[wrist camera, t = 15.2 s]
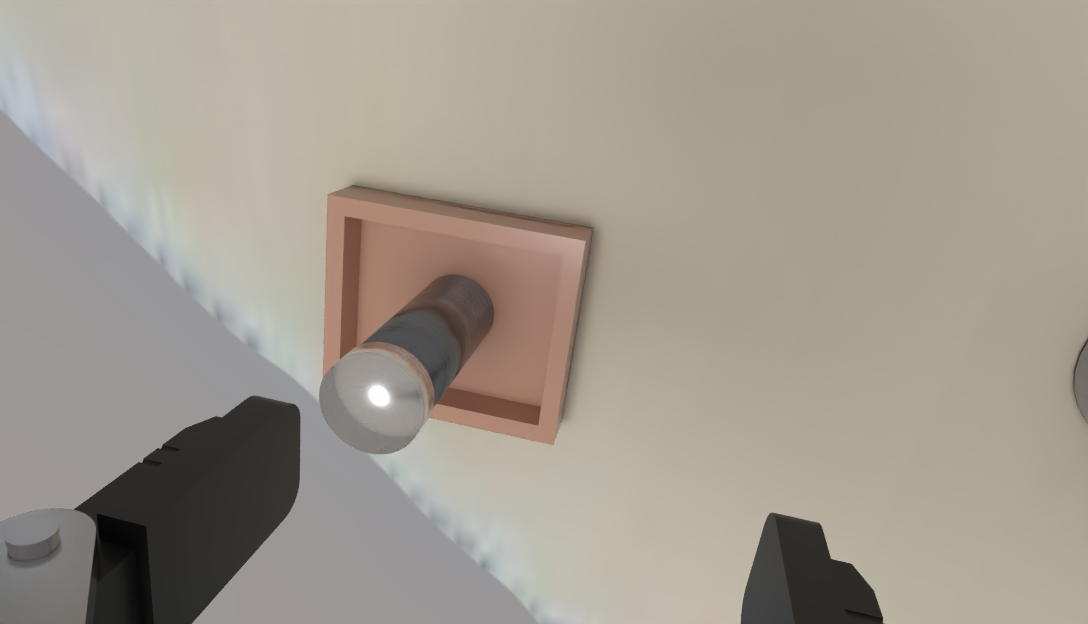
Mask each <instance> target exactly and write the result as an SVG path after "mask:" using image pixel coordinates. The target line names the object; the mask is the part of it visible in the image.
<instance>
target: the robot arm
mask: <svg viewBox="0 0 1088 624" xmlns="http://www.w3.org/2000/svg"><path fill="white" fill-rule="evenodd" d="M1074 391H1075V396H1076V400H1077V404H1078V407H1079V409H1080V411H1081V413H1082V415H1083V416H1084V418H1085V420H1086V421H1087V423H1088V343H1087V344H1086V346H1085V348H1084V350H1083V351H1082V353H1081V355H1080V358H1079V361H1078V364H1077V368H1076V371H1075V383H1074ZM299 480H300V412H299V409H298V407H297V406H296V405H295V404H291V403H286V402H282V401H277V400H273V399H268V398H264V397H260V396H251V397H249V398H247V399H246V400H244V401H243V402H242V403H241V404H239V405H238V406H236V407H235V408H234V409H233V410H231V411H230V412H229V413H228V414H226V415H225V416H224V417H222V418H221V417H217V416H216V417H213V418H211V419H208V420H205V421H203V422H200V423H198V424H195V425H192V426H190V427H187V428H185V429H184V430H182V431H181V432H179V433H178V434H177V435H176V436H174V437H173V438H171V439H170V440H169V441H167V442H166V443H164V444H163V446H162V448H161V449H159V448H158V449H156V450H155V451H153V452H152V453H151V454H149V455H148V456H147V457H145V458H144V460H143V462H142V463H140V462H138V463H137V464H136V465H134V466H133V467H132V468H130V469H129V470H127V471H126V472H125V473H123V474H122V475H120V476H119V477H118V478H116V479H115V480H114V481H112V482H111V483H110V484H108V485H107V486H105V487H104V488H103V489H101V490H100V491H99V492H97V493H96V494H94V495H93V496H92V497H90V498H89V499H88V500H86V501H85V502H83V503H82V504H81V505H79V506H78V507H77V508H75V509H74V510H72V509H63V508H56V509H55V508H54V509H53V508H51V509H41V510H35V511H31V512H27V513H23V514H19V515H16V516H13V517H11V518H8V519H6V520H4V521H1V522H0V624H192V623H193V621H194V620H195V619H196V618H197V617H198V616H199V615H200V614H201V612H202V611H203V610H204V609H205V608H206V607H207V606H208V605H209V603H210V602H211V601H212V600H213V599H214V598H215V597H216V596H217V594H218V593H219V592H220V591H221V590H222V589H223V588H224V586H225V585H226V584H227V583H228V582H229V581H230V580H231V579H232V577H233V576H234V575H235V574H236V573H237V572H238V571H239V569H240V568H241V567H242V566H243V565H244V564H245V563H246V562H247V560H248V559H249V558H250V557H251V556H252V555H253V554H254V553H255V551H256V550H257V549H258V548H259V547H260V546H261V545H262V544H263V542H264V541H265V540H266V539H267V538H268V537H269V536H270V534H271V533H272V532H273V531H274V530H275V529H276V528H277V527H278V526H279V524H280V523H281V522H282V521H283V520H284V519H285V517H286V516H287V515H288V513H289V512H290V510H291V508H292V506H293V504H294V502H295V499H296V496H297V492H298V488H299ZM741 624H883V616H882V613H881V610H880V608H879V605H878V602H877V599H876V596H875V593H874V590H873V589H872V588H871V587H870V586H869V584H868V583H867V582H866V581H865V580H864V578H863V577H862V576H861V575H860V574H859V572H858V571H857V570H856V569H855V568H854V566H853V565H852V564H850V563H846V562H841V561H837V560H833V559H831V557H830V554H829V550H828V547H827V543H826V540H825V536H824V532H823V529H822V526H821V525H820V524H819V523H817V522H812V521H808V520H803V519H799V518H794V517H790V516H785V515H781V514H777V513H770V514H769V515H768V517H767V519H766V522H765V525H764V528H763V531H762V535H761V538H760V542H759V545H758V548H757V552H756V555H755V558H754V562H753V565H752V569H751V572H750V575H749V579H748V582H747V586H746V589H745V593H744V598H743V605H742V613H741Z"/></svg>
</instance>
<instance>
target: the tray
mask: <svg viewBox="0 0 1088 624" xmlns="http://www.w3.org/2000/svg"><path fill="white" fill-rule="evenodd" d="M592 232H593V228H590V227H584V226H578V225H573V224H567V223H561V222H556V221H550V220H545V219H539V218H533V217H528V216H522V215H516V214H511V213H505V212H499V211H494V210H488V209H483V208H477V207H471V206H466V205H460V204H454V203H449V202H443V201H437V200H432V199H426V198H421V197H415V196H409V195H404V194H398V193H392V192H387V191H381V190H376V189H370V188H364V187H359V186H353V185H352V186H349V187H347V188H344V189H341V190H339V191H336V192H333V193H331V194H328V201H327V240H326V280H325V319H324V359H323V378H324V376H325V374H326V373H327V371H328V370H329V369H330V368H331V367H332V366H333V365H335V364H336V363H337V362H338V361H339V360H340V359H341V358H343V357H344V356H345V355H346V354H347V353H348V352H349V351H351V350H352V349H353V348H355V347H357V346H359V345H361V344H362V343H363V342H364V341H365V340H367V339H368V338H369V337H370V336H371V335H372V334H373V333H374V332H376V331H377V330H378V329H379V328H380V327H381V326H382V325H384V324H385V323H386V322H387V321H388V320H389V319H390V318H391V317H393V316H394V315H395V314H396V313H397V312H398V311H399V310H401V309H402V308H403V307H404V306H405V305H406V304H407V303H408V302H410V301H411V300H412V299H413V298H414V297H415V296H416V295H418V294H419V293H420V292H421V291H422V290H423V289H424V288H426V287H427V286H428V285H429V284H430V283H431V282H432V281H434V280H435V279H437V278H439V277H441V276H445V275H451V274H456V275H462V276H466V277H468V278H470V279H472V280H474V281H476V282H477V283H478V284H479V285H481V286H482V287H483V288H484V290H485V291H486V292H487V294H488V295H489V297H490V299H491V302H492V305H493V309H494V319H493V324H492V327H491V329H490V331H489V332H488V334H487V335H486V337H485V338H484V339H483V341H482V342H481V343H480V345H479V346H478V348H477V349H476V350H475V352H474V353H473V354H472V356H471V357H470V358H469V360H468V361H467V363H466V364H465V365H464V367H463V368H462V369H461V371H460V372H459V374H458V375H457V376H456V378H455V379H454V380H453V382H452V383H451V384H450V386H449V387H448V389H447V390H446V391H445V393H444V394H443V395H442V397H441V398H440V400H439V401H438V402H437V404H436V405H435V406H434V408H433V410H432V413H431V415H430V417H429V418H433V419H438V420H442V421H447V422H451V423H456V424H460V425H465V426H469V427H474V428H479V429H483V430H488V431H492V432H497V433H501V434H506V435H510V436H515V437H519V438H524V439H528V440H533V441H538V442H542V443H547V444H551V445H553V444H554V441H555V438H556V436H557V433H558V430H559V427H560V424H561V422H562V417H563V411H564V405H565V399H566V393H567V386H568V380H569V374H570V368H571V362H572V355H573V349H574V343H575V337H576V331H577V325H578V318H579V312H580V306H581V300H582V294H583V288H584V281H585V275H586V269H587V263H588V257H589V250H590V244H591V238H592Z"/></svg>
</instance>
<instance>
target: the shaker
mask: <svg viewBox="0 0 1088 624" xmlns="http://www.w3.org/2000/svg"><path fill="white" fill-rule="evenodd" d="M493 319H494V309H493V305H492V302H491V299H490V297H489V295H488V294H487V292H486V291H485V290H484V288H483V287H482V286H481V285H479V284H478V283H477V282H476V281H474V280H472V279H470V278H468V277H466V276H462V275H456V274H451V275H445V276H441V277H439V278H437V279H435V280H434V281H432V282H431V283H430V284H429V285H428V286H427V287H426V288H424V289H423V290H422V291H421V292H420V293H419V294H418V295H416V296H415V297H414V298H413V299H412V300H411V301H410V302H408V303H407V304H406V305H405V306H404V307H403V308H402V309H401V310H399V311H398V312H397V313H396V314H395V315H394V316H393V317H391V318H390V319H389V320H388V321H387V322H386V323H385V324H384V325H382V326H381V327H380V328H379V329H378V330H377V331H376V332H374V333H373V334H372V335H371V336H370V337H369V338H368V339H367V340H365V341H364V342H363V343H362V344H361V345H359V346H357V347H355V348H353V349H352V350H351V351H349V352H348V353H347V354H346V355H345V356H344V357H343V358H341V359H340V360H339V361H338V362H337V363H336V364H335V365H333V366H332V367H331V368H330V369H329V370H328V371H327V373H326V374H325V376H324V378H323V380H322V382H321V386H320V392H319V401H320V407H321V410H322V413H323V416H324V418H325V420H326V422H327V424H328V425H329V426H330V428H331V429H332V431H333V432H334V433H335V434H336V435H337V436H338V437H339V438H340V439H341V440H343V441H344V442H345V443H347V444H348V445H350V446H352V447H353V448H355V449H358V450H360V451H363V452H367V453H372V454H389V453H393V452H396V451H399V450H401V449H402V448H404V447H406V446H407V445H408V444H409V443H410V442H411V441H412V440H413V439H414V438H415V436H416V435H417V434H418V432H419V431H420V429H421V428H422V427H423V425H424V424H425V423H426V421H427V420H428V418H429V417H430V415H431V413H432V410H433V408H434V406H435V405H436V404H437V402H438V401H439V400H440V398H441V397H442V395H443V394H444V393H445V391H446V390H447V389H448V387H449V386H450V384H451V383H452V382H453V380H454V379H455V378H456V376H457V375H458V374H459V372H460V371H461V369H462V368H463V367H464V365H465V364H466V363H467V361H468V360H469V358H470V357H471V356H472V354H473V353H474V352H475V350H476V349H477V348H478V346H479V345H480V343H481V342H482V341H483V339H484V338H485V337H486V335H487V334H488V332H489V331H490V329H491V327H492V324H493Z"/></svg>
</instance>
